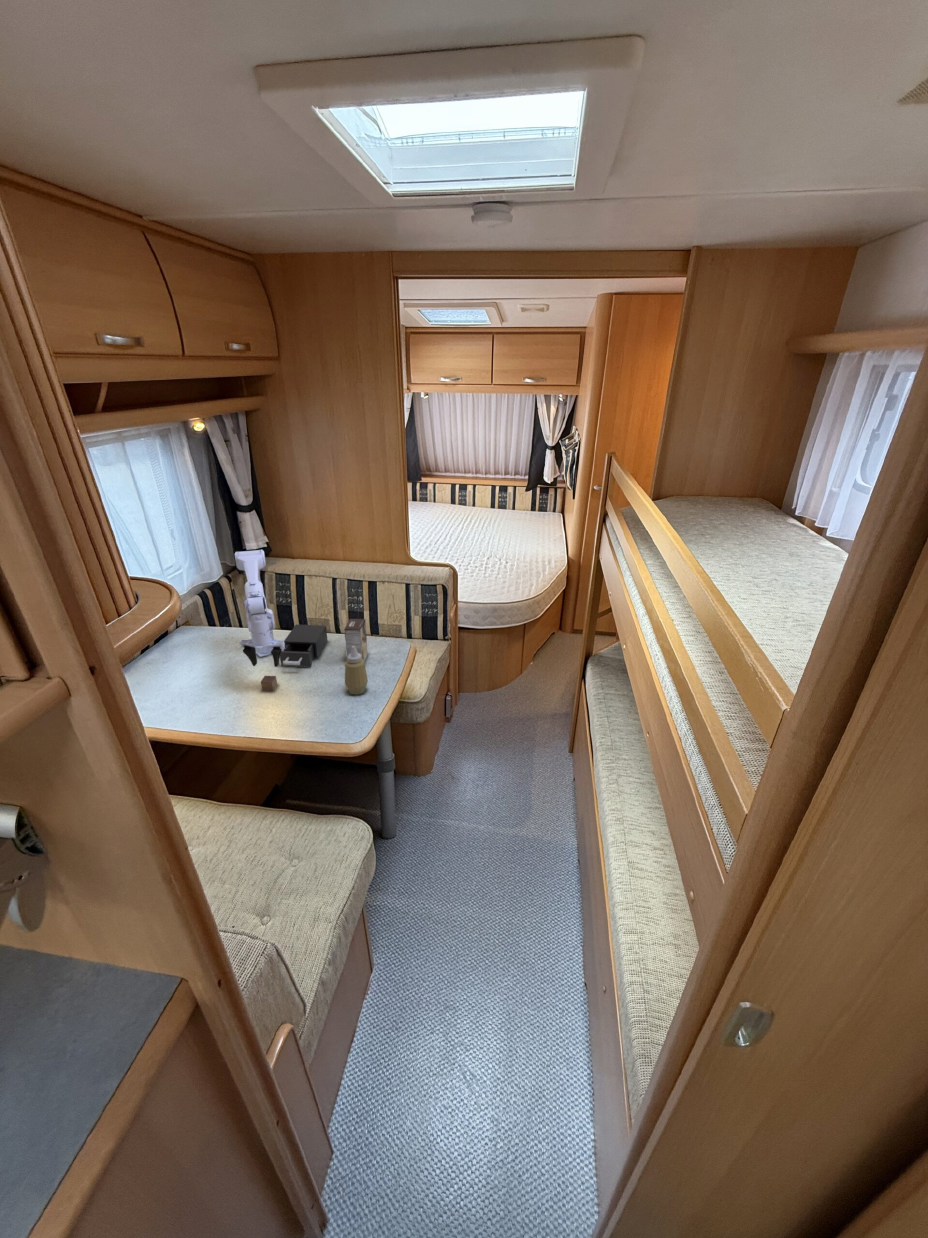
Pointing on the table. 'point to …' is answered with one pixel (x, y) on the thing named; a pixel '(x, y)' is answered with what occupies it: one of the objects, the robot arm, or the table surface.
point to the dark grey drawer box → (309, 637)
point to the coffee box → (356, 637)
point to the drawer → (297, 654)
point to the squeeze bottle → (355, 673)
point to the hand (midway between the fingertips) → (265, 665)
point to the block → (269, 683)
